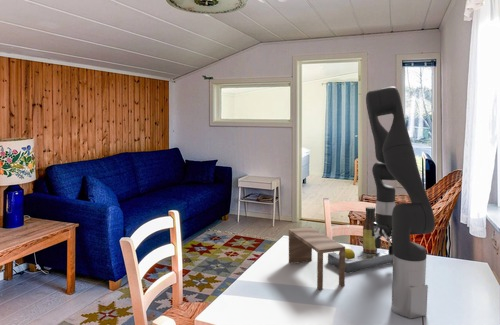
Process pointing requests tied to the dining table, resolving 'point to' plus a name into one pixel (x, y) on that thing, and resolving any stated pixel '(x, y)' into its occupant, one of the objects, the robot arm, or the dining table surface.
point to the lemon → (349, 254)
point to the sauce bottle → (369, 231)
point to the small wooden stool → (313, 239)
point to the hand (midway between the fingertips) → (384, 251)
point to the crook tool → (361, 261)
